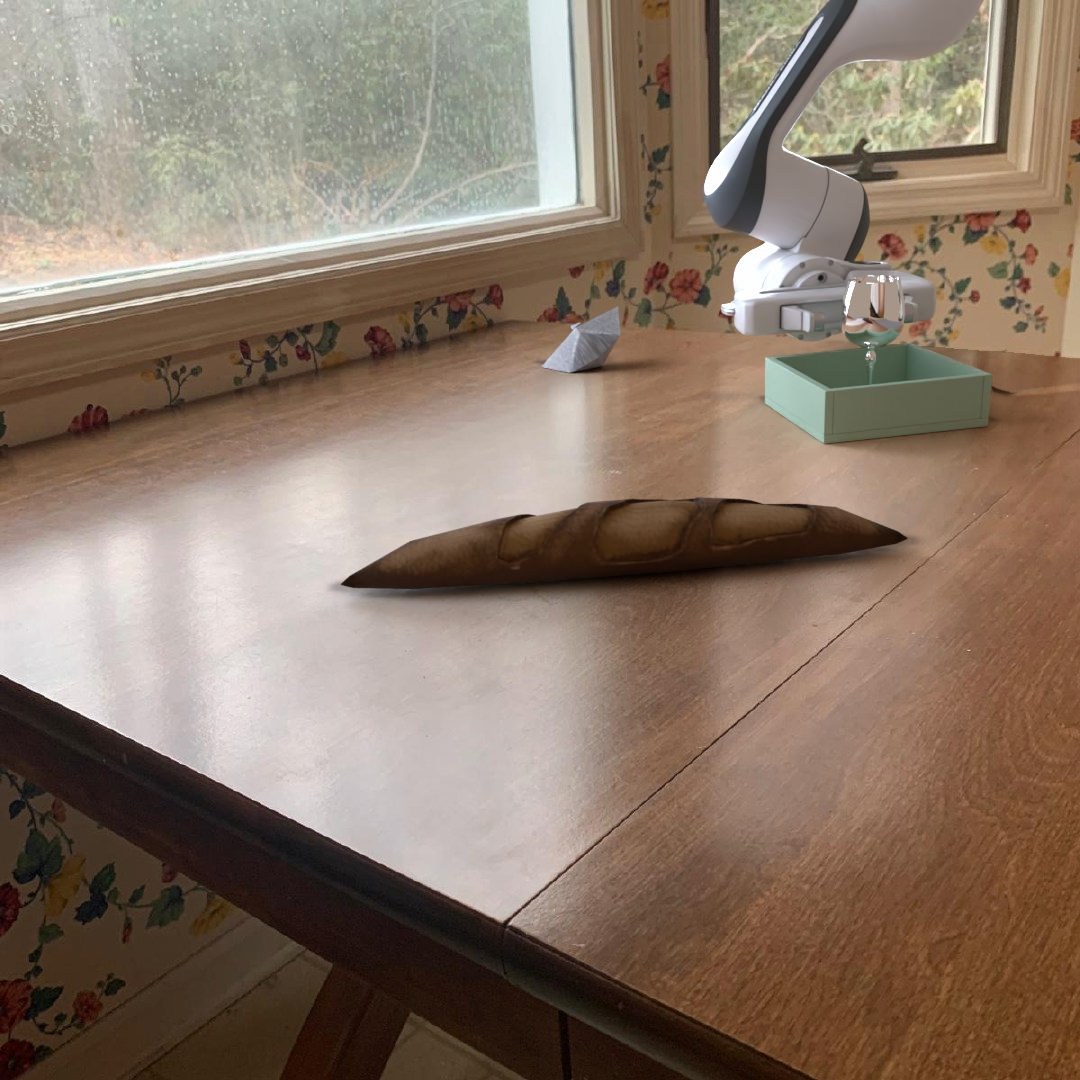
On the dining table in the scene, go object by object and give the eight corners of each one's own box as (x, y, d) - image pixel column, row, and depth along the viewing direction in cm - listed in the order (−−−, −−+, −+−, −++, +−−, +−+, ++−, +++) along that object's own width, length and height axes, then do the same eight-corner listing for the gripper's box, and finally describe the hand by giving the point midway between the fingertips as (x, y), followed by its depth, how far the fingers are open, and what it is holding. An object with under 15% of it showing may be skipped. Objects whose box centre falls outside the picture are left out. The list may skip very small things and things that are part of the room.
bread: (337, 610, 70) (327, 538, 68) (346, 580, 75) (336, 512, 73) (921, 562, 71) (925, 490, 69) (893, 536, 76) (897, 467, 74)
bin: (909, 388, 113) (911, 342, 111) (988, 426, 99) (992, 374, 97) (764, 403, 111) (765, 357, 110) (823, 444, 97) (825, 391, 95)
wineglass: (906, 400, 106) (913, 275, 101) (891, 415, 101) (898, 284, 97) (847, 396, 109) (851, 274, 104) (829, 411, 104) (833, 283, 100)
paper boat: (544, 369, 128) (519, 337, 135) (570, 405, 132) (544, 372, 139) (627, 307, 127) (596, 277, 134) (650, 345, 131) (620, 315, 138)
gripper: (715, 276, 114) (759, 294, 101) (900, 260, 117) (966, 276, 104) (715, 336, 116) (758, 361, 104) (897, 319, 119) (961, 342, 106)
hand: (864, 318), depth 104 cm, fingers open, 8 cm apart
